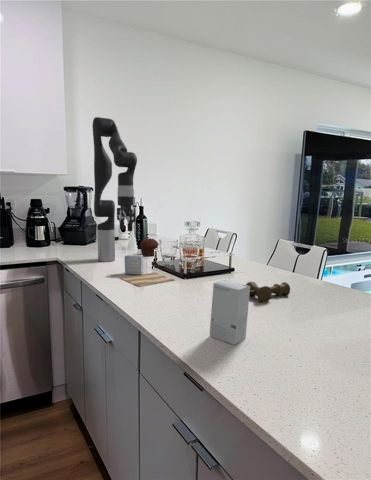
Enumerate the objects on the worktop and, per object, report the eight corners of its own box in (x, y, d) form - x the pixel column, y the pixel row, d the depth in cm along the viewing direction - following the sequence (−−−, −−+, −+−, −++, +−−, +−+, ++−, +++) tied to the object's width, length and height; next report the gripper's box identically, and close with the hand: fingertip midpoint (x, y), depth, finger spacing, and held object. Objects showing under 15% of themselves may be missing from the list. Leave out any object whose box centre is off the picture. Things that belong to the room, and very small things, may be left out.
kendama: (295, 299, 122) (250, 304, 114) (277, 293, 131) (235, 297, 123) (296, 283, 122) (251, 287, 114) (278, 278, 131) (236, 281, 122)
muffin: (143, 257, 193) (143, 240, 192) (136, 254, 202) (136, 238, 201) (162, 255, 199) (162, 239, 198) (154, 252, 208) (154, 237, 207)
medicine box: (143, 272, 156) (143, 254, 155) (141, 274, 151) (141, 256, 150) (127, 272, 156) (126, 254, 155) (124, 274, 152) (124, 256, 151)
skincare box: (209, 336, 88) (210, 282, 86) (221, 329, 93) (223, 278, 91) (236, 346, 83) (238, 289, 81) (248, 338, 88) (250, 284, 85)
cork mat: (120, 278, 145) (120, 277, 145) (154, 272, 157) (154, 272, 157) (139, 287, 133) (139, 286, 133) (175, 280, 144) (175, 279, 144)
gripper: (111, 195, 158) (111, 229, 160) (126, 195, 147) (126, 232, 149) (125, 195, 163) (125, 228, 165) (140, 195, 152) (140, 231, 154)
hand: (125, 230), depth 157 cm, fingers open, 7 cm apart
